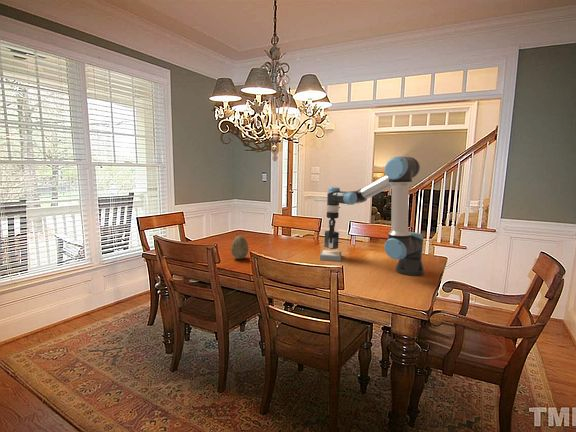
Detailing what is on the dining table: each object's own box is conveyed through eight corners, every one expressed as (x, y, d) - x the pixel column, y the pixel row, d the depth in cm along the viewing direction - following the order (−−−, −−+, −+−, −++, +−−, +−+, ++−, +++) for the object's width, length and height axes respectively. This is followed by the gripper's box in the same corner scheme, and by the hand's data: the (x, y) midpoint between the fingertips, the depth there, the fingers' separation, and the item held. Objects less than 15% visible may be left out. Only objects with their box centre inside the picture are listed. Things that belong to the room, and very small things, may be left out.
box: (338, 248, 213) (339, 232, 212) (331, 249, 211) (331, 233, 209) (331, 245, 220) (331, 230, 219) (323, 246, 217) (324, 230, 216)
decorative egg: (251, 259, 210) (251, 236, 207) (236, 262, 203) (236, 238, 200) (242, 255, 218) (242, 233, 215) (227, 258, 211) (227, 235, 209)
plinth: (340, 261, 209) (340, 256, 208) (319, 259, 211) (320, 254, 211) (341, 255, 222) (341, 250, 221) (321, 254, 224) (321, 249, 223)
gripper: (337, 214, 200) (336, 250, 204) (339, 209, 222) (337, 242, 225) (325, 213, 202) (323, 249, 205) (328, 209, 223) (326, 241, 227)
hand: (331, 246), depth 215 cm, fingers closed on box, 9 cm apart
